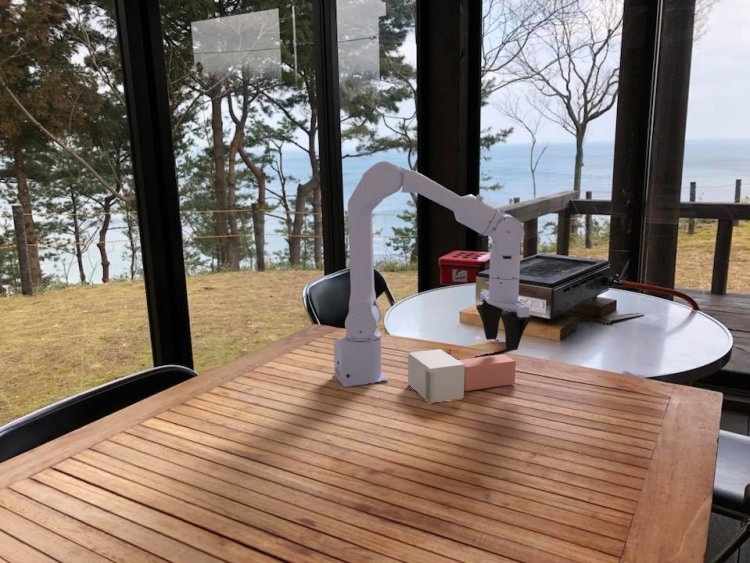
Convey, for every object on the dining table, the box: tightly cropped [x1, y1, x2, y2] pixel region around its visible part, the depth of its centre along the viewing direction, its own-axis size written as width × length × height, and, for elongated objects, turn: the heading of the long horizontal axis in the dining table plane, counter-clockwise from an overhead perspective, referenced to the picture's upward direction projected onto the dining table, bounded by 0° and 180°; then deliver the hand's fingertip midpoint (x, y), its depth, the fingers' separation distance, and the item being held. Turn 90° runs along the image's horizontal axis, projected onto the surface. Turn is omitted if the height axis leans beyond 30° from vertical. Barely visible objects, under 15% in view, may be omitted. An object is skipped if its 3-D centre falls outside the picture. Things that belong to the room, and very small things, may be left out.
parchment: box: [463, 338, 507, 353], centre depth 132 cm, size 25×10×1 cm, turn 122°
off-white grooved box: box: [407, 348, 465, 404], centre depth 106 cm, size 7×10×7 cm
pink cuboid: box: [458, 353, 517, 392], centre depth 110 cm, size 11×4×5 cm, turn 110°
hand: (501, 344), depth 110 cm, fingers open, 7 cm apart
